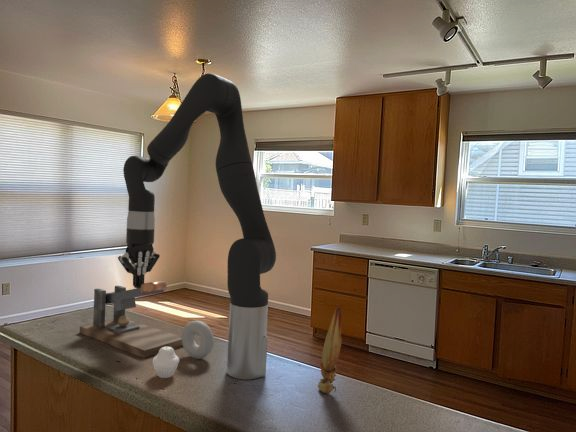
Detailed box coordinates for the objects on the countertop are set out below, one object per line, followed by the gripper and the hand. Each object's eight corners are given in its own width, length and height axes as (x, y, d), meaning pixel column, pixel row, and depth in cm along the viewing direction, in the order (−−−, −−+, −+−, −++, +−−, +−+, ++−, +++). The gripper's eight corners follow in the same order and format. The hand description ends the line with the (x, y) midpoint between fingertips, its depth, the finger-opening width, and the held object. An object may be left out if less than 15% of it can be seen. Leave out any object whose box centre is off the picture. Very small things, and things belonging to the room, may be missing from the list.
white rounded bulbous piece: (184, 375, 107) (185, 346, 106) (163, 383, 101) (165, 352, 101) (166, 368, 110) (167, 340, 110) (146, 375, 105) (147, 346, 105)
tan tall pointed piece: (332, 403, 96) (337, 311, 95) (309, 397, 98) (315, 307, 97) (341, 391, 102) (347, 304, 102) (320, 386, 105) (325, 301, 104)
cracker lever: (168, 301, 126) (165, 279, 126) (150, 305, 120) (146, 282, 121) (118, 309, 139) (115, 290, 140) (99, 313, 134) (96, 293, 134)
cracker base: (185, 345, 127) (187, 299, 127) (144, 358, 116) (146, 308, 115) (120, 323, 144) (122, 283, 144) (79, 332, 133) (81, 289, 132)
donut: (177, 356, 119) (179, 318, 118) (186, 352, 122) (188, 316, 121) (207, 364, 114) (209, 325, 113) (215, 360, 117) (217, 322, 116)
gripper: (128, 228, 120) (126, 293, 120) (167, 227, 131) (165, 286, 131) (112, 226, 124) (109, 288, 125) (151, 225, 135) (149, 282, 136)
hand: (138, 287), depth 128 cm, fingers closed
